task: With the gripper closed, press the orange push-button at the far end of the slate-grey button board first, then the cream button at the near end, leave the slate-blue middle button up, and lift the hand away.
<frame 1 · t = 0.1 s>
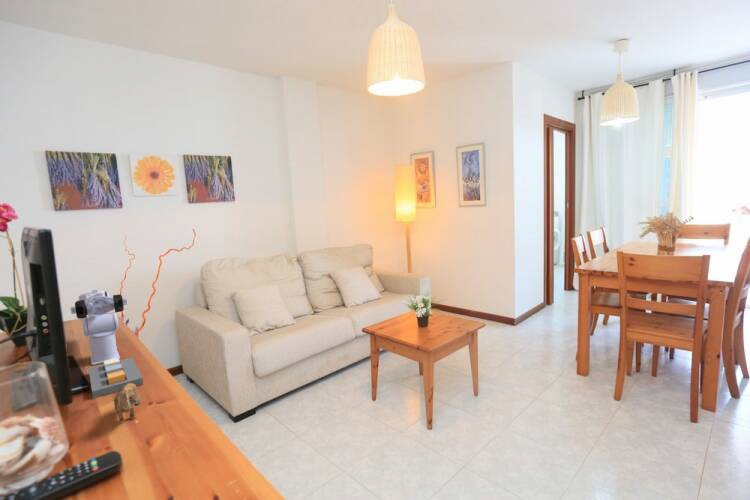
hand: (101, 308, 117), 22 cm above the table, tool horizontal, fingers open, 7 cm apart
lion figurine: (131, 415, 97), on the table
cream button: (112, 364, 123), point 2 cm above the table, slide at 0.0 cm
orange button: (116, 378, 113), point 2 cm above the table, slide at 0.0 cm
button board: (115, 378, 118), on the table
slate-blue button: (114, 371, 118), point 2 cm above the table, slide at 0.0 cm
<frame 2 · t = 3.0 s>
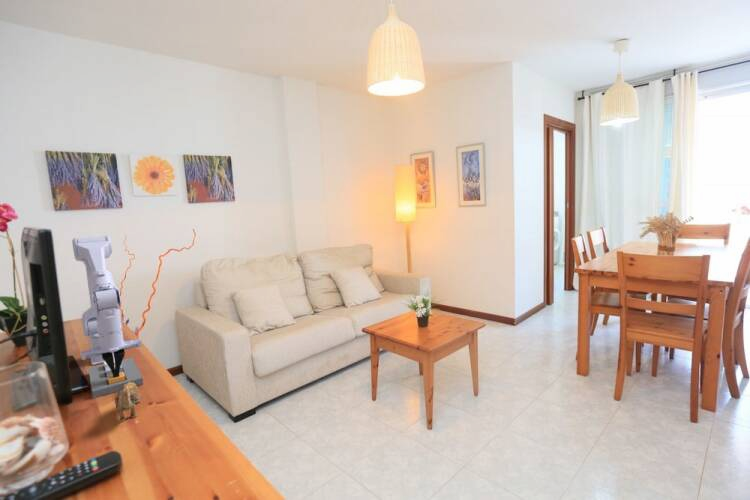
hand: (116, 376, 113), 3 cm above the table, tool pointing down, fingers closed, pressing on orange button
orange button: (116, 379, 113), point 2 cm above the table, slide at 0.5 cm, touching gripper
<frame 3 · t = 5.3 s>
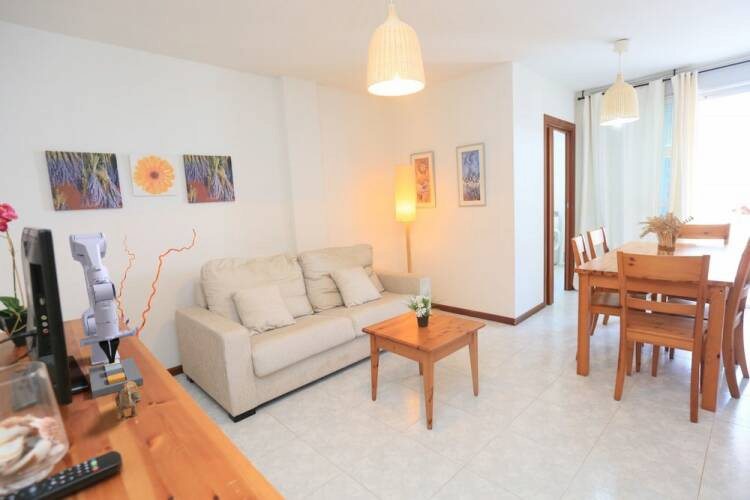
hand: (111, 362, 123), 3 cm above the table, tool pointing down, fingers closed, pressing on cream button
cream button: (112, 366, 123), point 2 cm above the table, slide at 0.4 cm, touching gripper
orange button: (116, 380, 113), point 2 cm above the table, slide at 0.7 cm
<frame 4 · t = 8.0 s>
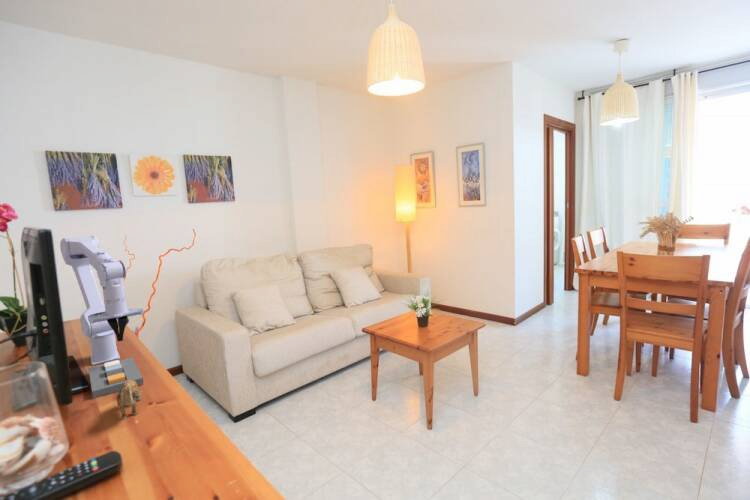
hand: (120, 340, 125), 9 cm above the table, tool pointing down, fingers closed
cream button: (112, 366, 123), point 2 cm above the table, slide at 0.7 cm
at the end: orange button slide at 0.7 cm; cream button slide at 0.7 cm; slate-blue button slide at 0.0 cm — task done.
